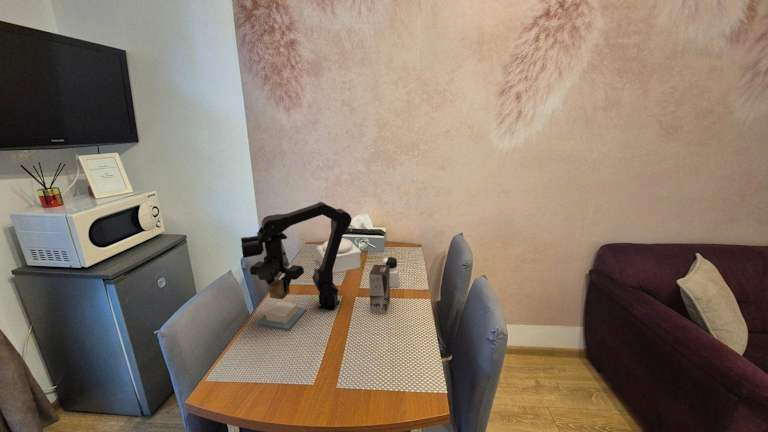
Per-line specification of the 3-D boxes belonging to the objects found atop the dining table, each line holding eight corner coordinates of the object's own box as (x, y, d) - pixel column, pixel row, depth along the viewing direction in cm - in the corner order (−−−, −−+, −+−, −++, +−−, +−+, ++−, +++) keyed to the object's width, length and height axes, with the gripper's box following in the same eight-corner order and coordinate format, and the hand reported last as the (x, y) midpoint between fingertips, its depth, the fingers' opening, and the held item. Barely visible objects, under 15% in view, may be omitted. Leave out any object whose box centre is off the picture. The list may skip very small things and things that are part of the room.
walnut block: (289, 292, 121) (288, 280, 120) (282, 299, 117) (280, 286, 115) (278, 290, 123) (276, 278, 121) (270, 297, 118) (268, 285, 117)
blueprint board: (306, 310, 127) (305, 301, 126) (288, 331, 115) (287, 321, 114) (277, 306, 130) (276, 297, 129) (256, 325, 118) (255, 315, 117)
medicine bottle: (398, 279, 149) (398, 255, 146) (397, 287, 142) (397, 262, 139) (383, 279, 150) (382, 255, 146) (381, 287, 143) (380, 262, 140)
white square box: (317, 261, 170) (315, 233, 166) (350, 255, 178) (348, 227, 173) (326, 275, 155) (324, 244, 150) (362, 268, 162) (360, 238, 158)
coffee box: (386, 314, 123) (385, 275, 119) (369, 312, 125) (368, 274, 120) (390, 301, 132) (390, 264, 127) (375, 299, 133) (374, 263, 129)
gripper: (236, 258, 110) (243, 299, 114) (285, 264, 105) (290, 306, 109) (257, 246, 120) (262, 284, 125) (302, 250, 115) (306, 290, 120)
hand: (279, 291), depth 119 cm, fingers closed on walnut block, 5 cm apart
